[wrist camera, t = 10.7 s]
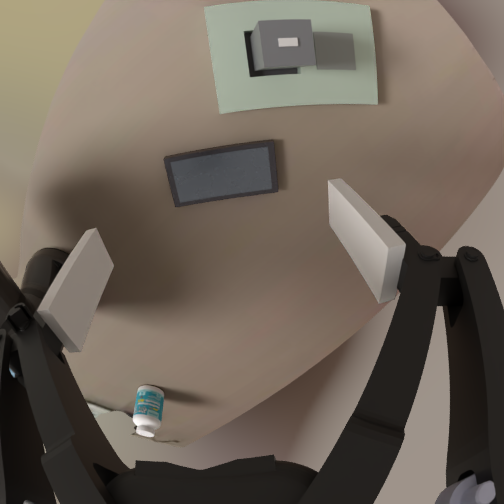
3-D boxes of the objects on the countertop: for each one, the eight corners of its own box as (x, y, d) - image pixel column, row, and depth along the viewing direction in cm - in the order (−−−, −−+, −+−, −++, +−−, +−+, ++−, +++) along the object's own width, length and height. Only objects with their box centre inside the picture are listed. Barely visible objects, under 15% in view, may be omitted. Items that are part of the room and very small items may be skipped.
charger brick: (254, 71, 29) (264, 67, 20) (249, 37, 27) (258, 20, 18) (290, 68, 29) (316, 65, 20) (287, 35, 27) (311, 19, 18)
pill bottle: (164, 386, 67) (159, 432, 56) (164, 398, 71) (160, 440, 60) (136, 381, 65) (129, 426, 54) (138, 393, 69) (132, 435, 58)
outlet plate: (220, 112, 32) (219, 114, 31) (205, 10, 24) (203, 6, 23) (371, 102, 32) (378, 104, 30) (363, 8, 24) (370, 5, 22)
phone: (176, 203, 39) (175, 207, 38) (165, 156, 35) (163, 159, 34) (276, 188, 39) (278, 192, 38) (272, 139, 35) (273, 141, 34)
